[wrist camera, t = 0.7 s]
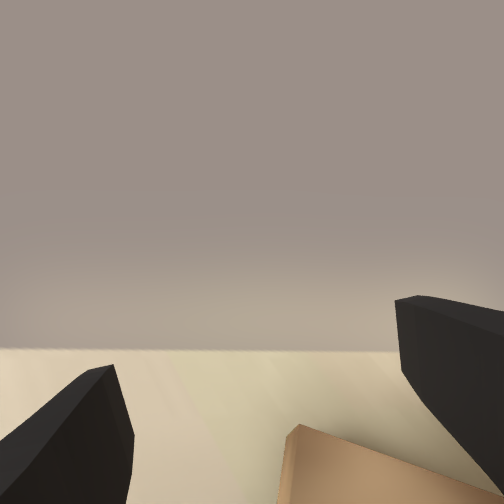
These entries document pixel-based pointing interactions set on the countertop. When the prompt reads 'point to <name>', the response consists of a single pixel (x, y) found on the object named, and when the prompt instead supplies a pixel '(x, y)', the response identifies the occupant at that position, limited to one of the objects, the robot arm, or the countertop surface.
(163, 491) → the countertop surface
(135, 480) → the countertop surface
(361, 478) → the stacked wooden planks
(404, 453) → the countertop surface
